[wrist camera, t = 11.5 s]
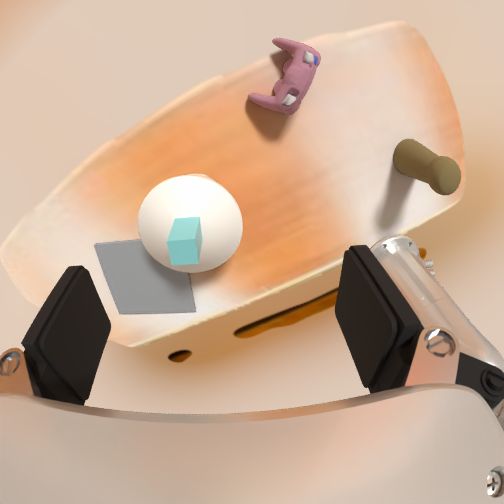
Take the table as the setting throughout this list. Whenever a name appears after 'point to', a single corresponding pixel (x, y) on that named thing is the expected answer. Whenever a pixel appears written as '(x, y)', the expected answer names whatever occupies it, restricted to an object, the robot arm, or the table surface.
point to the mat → (143, 280)
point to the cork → (427, 166)
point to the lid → (190, 223)
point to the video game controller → (291, 78)
